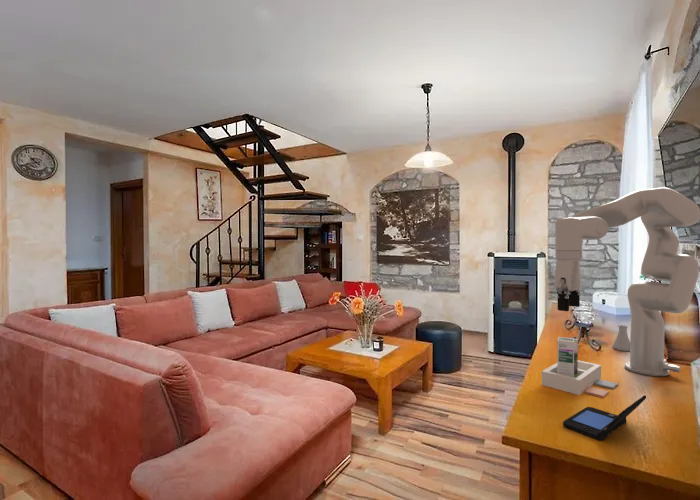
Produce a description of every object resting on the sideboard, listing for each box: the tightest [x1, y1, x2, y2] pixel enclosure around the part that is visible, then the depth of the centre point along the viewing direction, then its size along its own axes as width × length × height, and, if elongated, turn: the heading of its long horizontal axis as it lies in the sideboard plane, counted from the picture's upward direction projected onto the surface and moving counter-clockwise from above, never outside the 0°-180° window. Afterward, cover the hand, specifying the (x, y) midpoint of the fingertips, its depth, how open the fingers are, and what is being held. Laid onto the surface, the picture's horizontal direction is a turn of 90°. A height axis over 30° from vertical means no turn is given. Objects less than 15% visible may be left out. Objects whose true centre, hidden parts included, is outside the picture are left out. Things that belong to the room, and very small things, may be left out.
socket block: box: [541, 359, 618, 399], centre depth 125 cm, size 16×20×4 cm
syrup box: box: [556, 336, 579, 378], centre depth 124 cm, size 6×6×14 cm
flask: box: [611, 324, 630, 352], centre depth 163 cm, size 7×7×10 cm
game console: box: [562, 394, 647, 442], centre depth 96 cm, size 16×14×9 cm
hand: (568, 308), depth 125 cm, fingers open, 9 cm apart
